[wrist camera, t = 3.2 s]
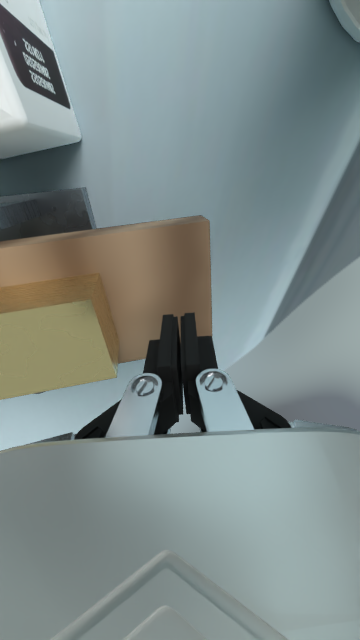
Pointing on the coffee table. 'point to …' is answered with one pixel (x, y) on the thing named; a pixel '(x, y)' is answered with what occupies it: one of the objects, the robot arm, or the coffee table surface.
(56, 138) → the container
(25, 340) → the slider
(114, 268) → the beam
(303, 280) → the coffee table surface
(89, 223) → the stand
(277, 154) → the coffee table surface
